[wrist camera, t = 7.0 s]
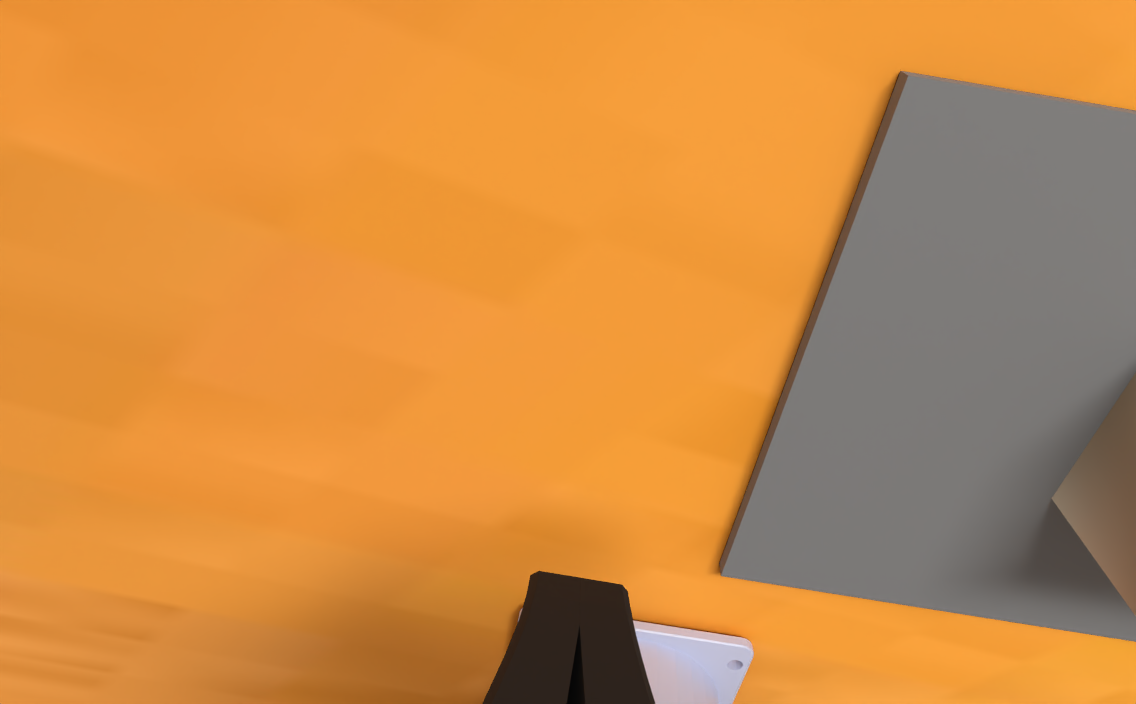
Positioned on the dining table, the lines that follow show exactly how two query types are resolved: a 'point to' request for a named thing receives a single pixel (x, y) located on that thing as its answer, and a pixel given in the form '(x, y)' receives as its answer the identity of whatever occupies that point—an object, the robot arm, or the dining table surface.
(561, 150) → the dining table surface
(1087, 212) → the rubber mat
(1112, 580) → the maple block
